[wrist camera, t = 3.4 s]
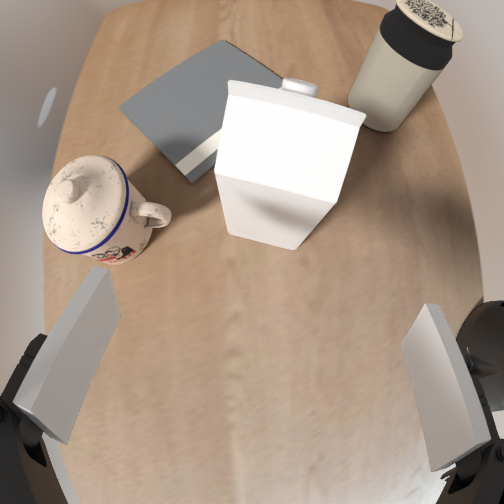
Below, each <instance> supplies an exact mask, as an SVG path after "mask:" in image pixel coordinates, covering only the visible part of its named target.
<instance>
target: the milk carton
mask: <svg viewBox="0 0 504 504" xmlns="http://www.w3.org/2000/svg"><path fill="white" fill-rule="evenodd" d="M318 89H319V88H318V86H316V85H314V84H312V83H309V82H305V81H302V80H297V79H292V78H284V79H283V82H282V88H281V89H277V88H272V87H267V86H262V85H257V84H252V83H247V82H241V81H235V80H229V81H228V94H229V95H228V100H227V105H226V110H225V115H224V120H223V125H222V130H221V136H220V141H219V147H218V152H217V158H216V164H215V169H214V172H215V176H216V181H217V185H218V190H219V194H220V198H221V203H222V207H223V212H224V216H225V220H226V225H227V229H228V233H229V234H231V235H235V236H238V237H242V238H246V239H250V240H254V241H258V242H262V243H266V244H270V245H274V246H278V247H282V248H285V249H289V250H296V249H297V248H298V247H299V245H300V244H301V243H302V242H303V241H304V240H305V239H306V237H307V236H308V235H309V234H310V233H311V232H312V230H313V229H314V228H315V227H316V226H317V225H318V223H319V222H320V221H321V220H322V219H323V218H324V216H325V215H326V214H327V213H328V212H329V210H330V209H331V208H332V207H333V206H334V205H335V203H337V200H338V197H339V194H340V191H341V188H342V184H343V181H344V178H345V175H346V172H347V169H348V165H349V162H350V159H351V156H352V152H353V149H354V146H355V142H356V139H357V136H358V132H359V129H360V126H361V125H362V123H363V121H364V120H365V118H366V114H365V113H362V112H359V111H356V110H353V109H350V108H347V107H344V106H341V105H337V104H334V103H331V102H327V101H324V100H320V99H317V98H316V95H317V93H318Z"/></svg>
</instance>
